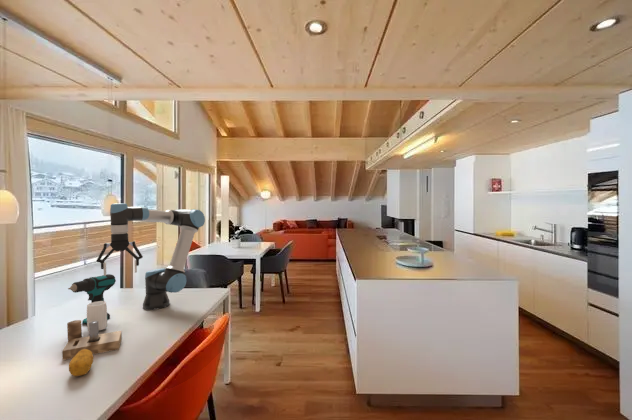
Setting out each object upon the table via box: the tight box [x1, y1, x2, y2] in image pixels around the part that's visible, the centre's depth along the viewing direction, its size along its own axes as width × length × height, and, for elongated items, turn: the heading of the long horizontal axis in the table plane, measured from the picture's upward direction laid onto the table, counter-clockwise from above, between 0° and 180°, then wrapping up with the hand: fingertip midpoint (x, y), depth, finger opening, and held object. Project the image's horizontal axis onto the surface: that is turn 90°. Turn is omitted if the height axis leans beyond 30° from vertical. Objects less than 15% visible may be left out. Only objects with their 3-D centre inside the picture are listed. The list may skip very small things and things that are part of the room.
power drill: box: [67, 273, 117, 325], centre depth 169 cm, size 26×9×25 cm, turn 168°
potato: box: [68, 349, 94, 377], centre depth 119 cm, size 7×14×7 cm, turn 25°
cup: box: [86, 300, 108, 332], centre depth 158 cm, size 8×8×14 cm
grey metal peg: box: [88, 321, 100, 342], centre depth 138 cm, size 3×3×12 cm
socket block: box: [61, 330, 123, 361], centre depth 138 cm, size 20×12×4 cm, turn 118°
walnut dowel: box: [66, 319, 83, 342], centre depth 144 cm, size 5×5×10 cm
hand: (120, 273), depth 160 cm, fingers open, 13 cm apart
